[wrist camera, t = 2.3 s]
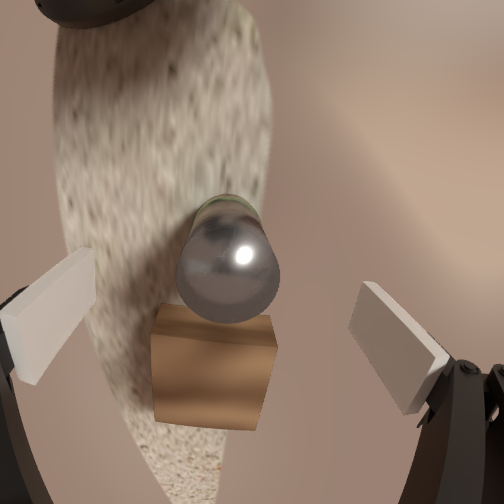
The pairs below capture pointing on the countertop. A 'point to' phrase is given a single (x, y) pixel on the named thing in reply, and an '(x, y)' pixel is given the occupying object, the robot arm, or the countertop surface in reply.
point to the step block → (210, 369)
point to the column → (227, 263)
